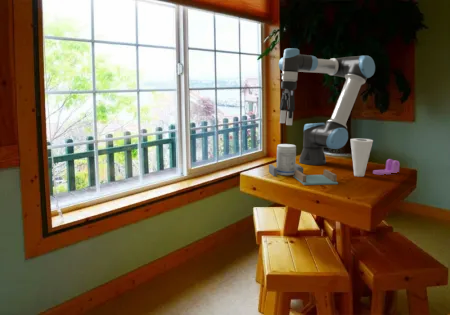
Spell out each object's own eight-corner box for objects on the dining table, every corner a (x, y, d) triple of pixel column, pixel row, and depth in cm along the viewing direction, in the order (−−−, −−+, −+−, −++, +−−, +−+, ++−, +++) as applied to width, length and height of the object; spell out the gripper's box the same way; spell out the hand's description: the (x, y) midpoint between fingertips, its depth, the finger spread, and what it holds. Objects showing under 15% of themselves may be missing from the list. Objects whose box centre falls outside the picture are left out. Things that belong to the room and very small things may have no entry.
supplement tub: (277, 171, 205) (278, 143, 202) (296, 172, 202) (297, 144, 199) (274, 175, 195) (275, 146, 193) (293, 176, 193) (295, 147, 190)
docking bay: (324, 176, 194) (325, 168, 194) (337, 184, 179) (338, 176, 178) (293, 176, 192) (293, 169, 191) (304, 185, 177) (304, 176, 176)
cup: (359, 178, 190) (362, 141, 186) (343, 174, 199) (345, 139, 195) (375, 176, 194) (377, 140, 191) (358, 172, 204) (361, 138, 200)
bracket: (391, 171, 207) (392, 158, 206) (398, 173, 202) (399, 160, 201) (370, 173, 203) (371, 159, 202) (378, 175, 198) (379, 161, 197)
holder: (296, 171, 205) (297, 163, 204) (303, 175, 195) (303, 167, 194) (268, 171, 203) (269, 164, 202) (273, 176, 193) (273, 168, 192)
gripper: (276, 81, 205) (272, 122, 208) (288, 79, 180) (284, 125, 183) (290, 82, 205) (286, 122, 209) (304, 80, 181) (300, 126, 184)
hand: (285, 124), depth 196 cm, fingers open, 13 cm apart
